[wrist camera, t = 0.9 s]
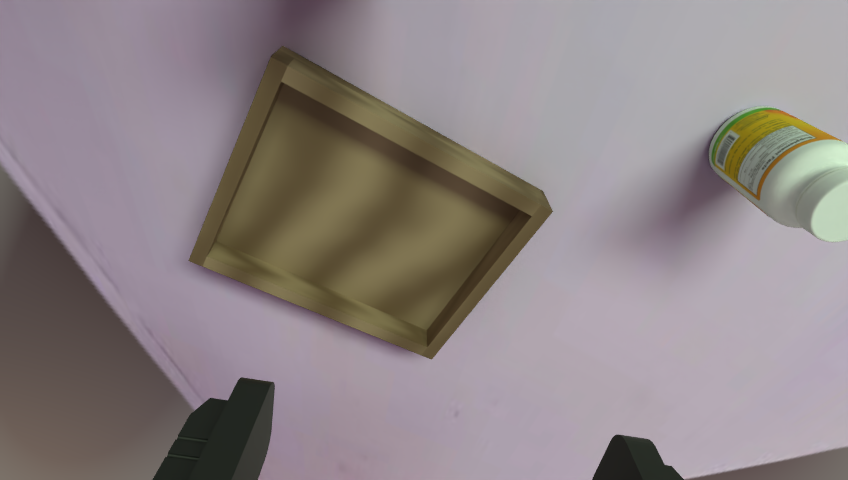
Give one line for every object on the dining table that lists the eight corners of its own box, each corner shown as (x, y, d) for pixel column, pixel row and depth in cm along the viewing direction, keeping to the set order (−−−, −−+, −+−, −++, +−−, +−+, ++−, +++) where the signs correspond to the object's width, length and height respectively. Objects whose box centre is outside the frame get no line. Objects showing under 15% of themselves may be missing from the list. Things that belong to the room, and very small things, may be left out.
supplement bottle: (796, 150, 35) (915, 220, 27) (720, 191, 36) (810, 269, 28) (775, 87, 32) (899, 143, 24) (695, 134, 34) (784, 201, 26)
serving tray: (203, 238, 38) (188, 260, 35) (282, 45, 30) (270, 56, 28) (430, 334, 43) (431, 359, 41) (543, 191, 36) (552, 211, 33)
